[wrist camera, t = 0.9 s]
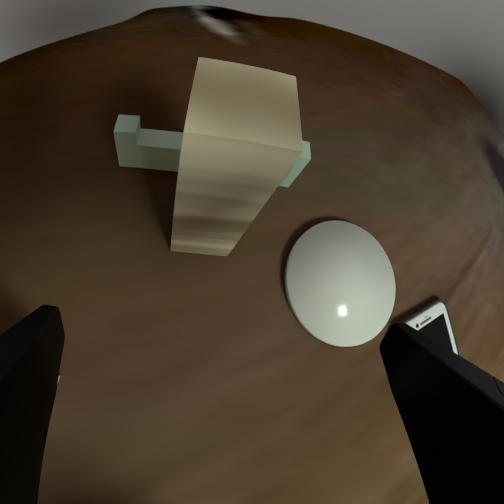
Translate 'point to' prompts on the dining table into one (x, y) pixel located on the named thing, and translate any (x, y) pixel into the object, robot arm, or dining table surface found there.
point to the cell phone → (434, 324)
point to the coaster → (339, 284)
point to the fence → (168, 148)
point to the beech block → (232, 152)
